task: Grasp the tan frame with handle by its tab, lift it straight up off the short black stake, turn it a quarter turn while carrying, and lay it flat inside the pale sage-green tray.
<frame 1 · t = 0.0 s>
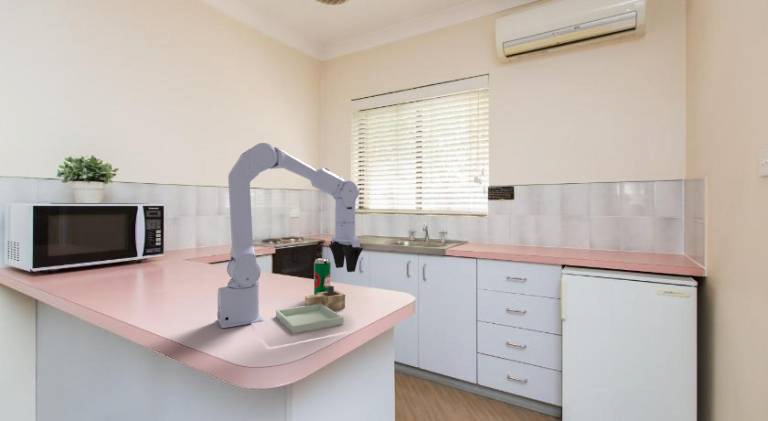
hand: (345, 269, 104), 10 cm above the table, fingers open, 7 cm apart
tan frame with handle: (330, 306, 100), touching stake
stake: (330, 307, 100), on the table
soda can: (322, 298, 111), on the table
tray: (308, 321, 88), on the table
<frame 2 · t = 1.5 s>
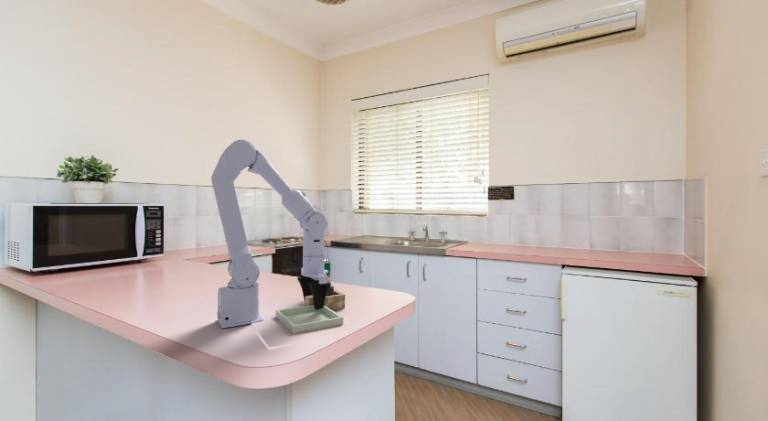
hand: (313, 305, 98), 1 cm above the table, fingers open, 7 cm apart
nothing on the table moved.
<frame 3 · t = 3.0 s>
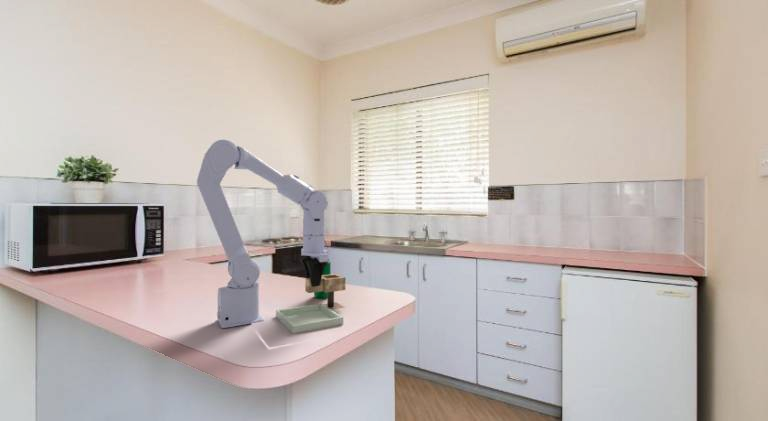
hand: (313, 284, 98), 7 cm above the table, fingers closed on tan frame with handle, 2 cm apart
tan frame with handle: (331, 289, 100), point 5 cm above the table, touching gripper
everything else where it was.
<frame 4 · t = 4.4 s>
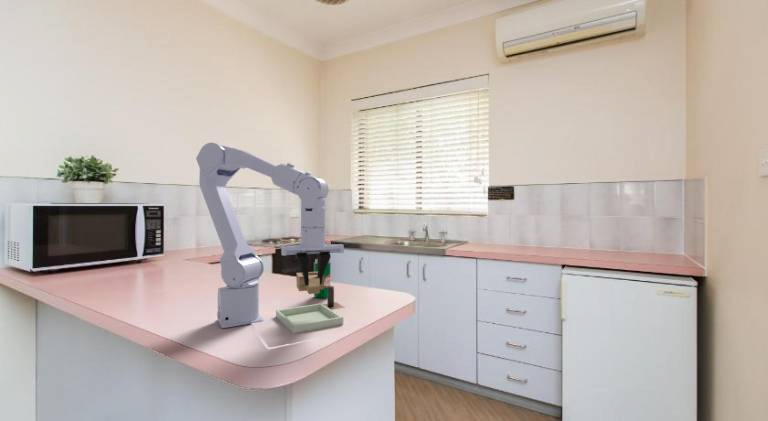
hand: (313, 284, 86), 10 cm above the table, fingers closed on tan frame with handle, 2 cm apart
tan frame with handle: (309, 287, 91), point 8 cm above the table, touching gripper
everything else where it was.
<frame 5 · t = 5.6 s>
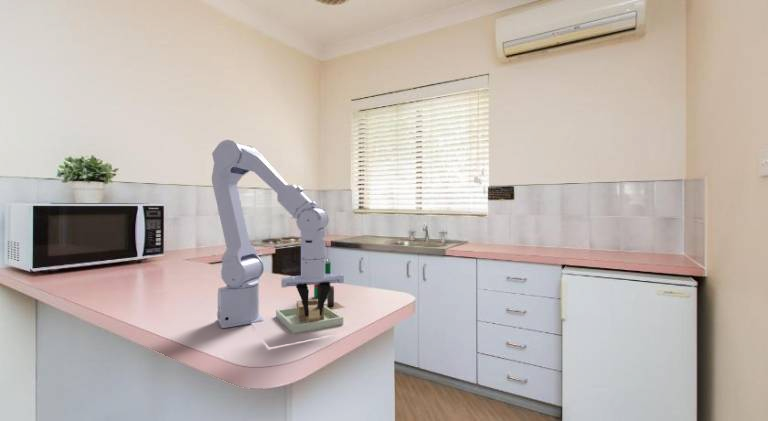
hand: (313, 314, 86), 3 cm above the table, fingers closed on tan frame with handle, 2 cm apart
tan frame with handle: (310, 316, 91), point 1 cm above the table, touching gripper
everything else where it was.
when the fingers open (2 cm above the table, at t = 5.9 s): tan frame with handle stays where it is, resting on tray.
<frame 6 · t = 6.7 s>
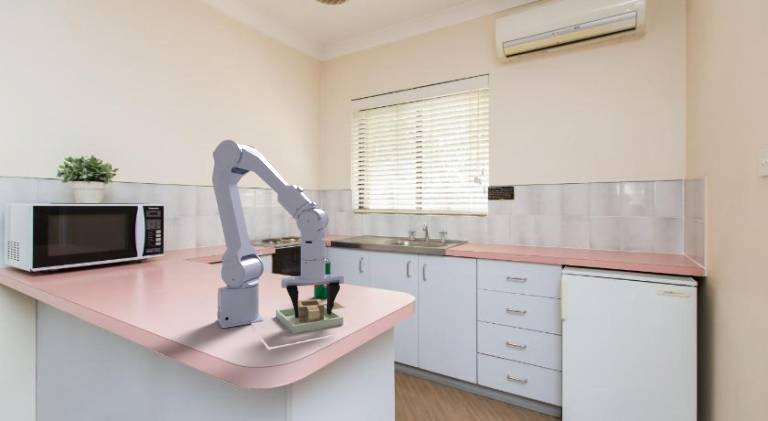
hand: (313, 315, 86), 2 cm above the table, fingers open, 7 cm apart
tan frame with handle: (310, 316, 91), resting on tray
everything else where it was.
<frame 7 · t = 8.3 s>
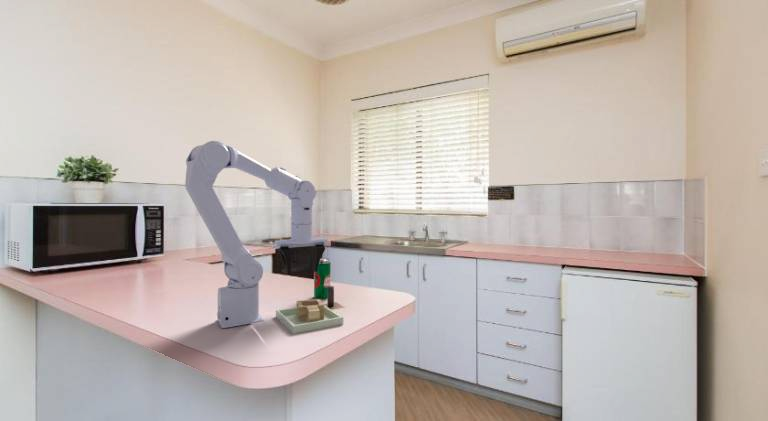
hand: (301, 272, 100), 10 cm above the table, fingers open, 7 cm apart
nothing on the table moved.
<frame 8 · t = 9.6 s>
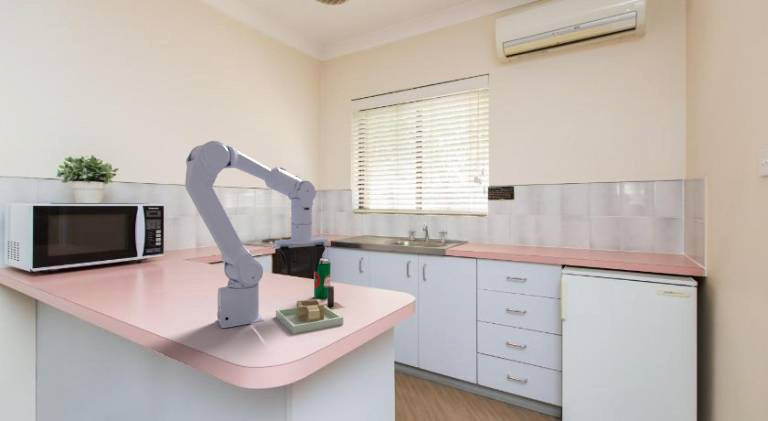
hand: (301, 272, 100), 10 cm above the table, fingers open, 7 cm apart
nothing on the table moved.
at the end: tan frame with handle inside the target area on the tray (2.3 cm from its centre), point 0.5 cm above the tray's base; tan frame with handle tilted 0°; the gripper is holding nothing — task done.
